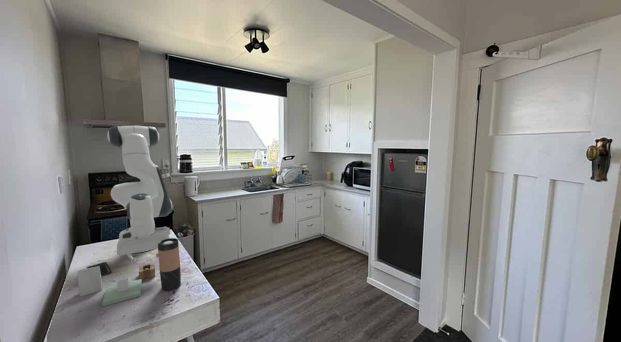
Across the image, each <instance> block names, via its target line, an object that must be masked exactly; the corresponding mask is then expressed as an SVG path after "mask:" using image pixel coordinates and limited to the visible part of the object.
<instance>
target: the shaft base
mask: <svg viewBox="0 0 621 342" xmlns="http://www.w3.org/2000/svg"><path fill="white" fill-rule="evenodd" d="M142 281H143V280H142V279H139V278H138V279H134V280H131V281H129V277H123V278H118V279H116V284H114V285H111V286H108V287H106V288H105V292H104V295H103V299H102V302H101V305H102V307H106V306H109V305H113V304H117V303H120V302H123V301H127V300H132V299H134V298H139V297H141V296H142V287H143V286H142V284H143V282H142Z"/></svg>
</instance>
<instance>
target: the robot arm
mask: <svg viewBox="0 0 621 342" xmlns="http://www.w3.org/2000/svg"><path fill="white" fill-rule="evenodd" d="M106 135H107V141H109V143H110V145H111V146H112V147H117V148H121V150H122V152H121V153H122V156H121V157H122V163H123V167H124V168H125V169H124V170H125V173H126V174H128V175H129V176H131V177H135V178H136V179H137V178H138V179H139V180H140V181H131V182H123V183H119V184H115V185H114V186H113V187H112V188H111V190H110V196H111V199H112V200H113V201H114V202H115V203H117V204H119V205H121V206H123V207H124V208H125V210H126V217H127V218H128V219H129V223H130V226H129V228H126V229H124V230H122V231H120V232H119V234H118V235H119V236H118V240H117V243H116V255H118V256H120V257H121V256H127V258H129V259H130V262H131V264H133V263H136V257H133V256H132V255H133V254H134V253H135V254H136V253H143V252H144V253H145V252H147V251H148V252H149V251H151V250H152V251H153V250H154V249H158V243H160V242H161V241H162V240H164V239H169V238H170V234H171V229H170V227H168V226H162V227H161V226H160V227H156V224H155V219H154V218H160V217H167V216H169V214H171V213H172V212H173V203H172V200H171V198H170V196H169V194H168V190H167V187H166V184H165V183H166V182H165V181H164V177H163V174H162V171H161V169H160V167H159V166H158V165H156V164H155V163H154V162H153V161H152V159H151V155H150V154H151V153H150V148H152V147H154V146H156V145H158V144H159V140H160V133H159V131H158V129H157V128H156V127H154V126H150V125H149V126H143V125H122V126H119V125H116V126H115V125H114V126H111V127H109V129H108V131H107V134H106ZM155 255H156V256H155V258H159V255H158V252H156V253H155Z"/></svg>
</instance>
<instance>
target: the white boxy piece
mask: <svg viewBox="0 0 621 342" xmlns="http://www.w3.org/2000/svg"><path fill="white" fill-rule="evenodd" d="M77 281H78V282H77V283H78V284H77V285H78V289H79V297H83V296H88V295H90V294H94V293H98V292H100V291H103V280H102V277H101V272H100V266H97V267H92V268H88V269H86V268H84V269H81V270H77Z"/></svg>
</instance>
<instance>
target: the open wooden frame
mask: <svg viewBox="0 0 621 342" xmlns="http://www.w3.org/2000/svg"><path fill="white" fill-rule="evenodd" d="M155 265H156V264H155V262H153V263H149V264H145V265H139V266H138V279H142V281H143V280H148V279H151V278H155V277H156V268H155V267H156V266H155Z"/></svg>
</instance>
